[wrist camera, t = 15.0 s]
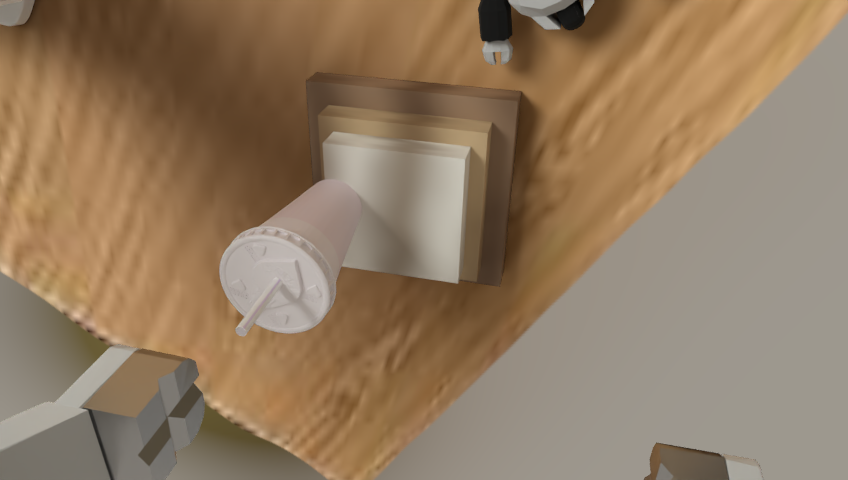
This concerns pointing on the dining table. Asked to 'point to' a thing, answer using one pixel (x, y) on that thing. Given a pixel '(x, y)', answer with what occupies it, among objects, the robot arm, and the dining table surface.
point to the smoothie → (292, 260)
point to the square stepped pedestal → (419, 172)
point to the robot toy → (535, 3)
